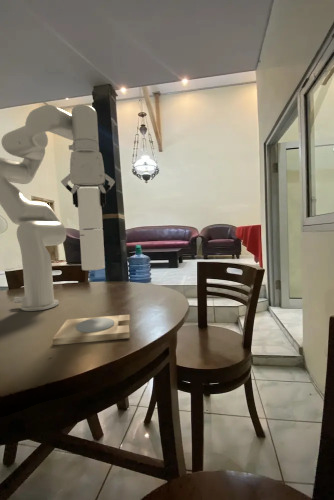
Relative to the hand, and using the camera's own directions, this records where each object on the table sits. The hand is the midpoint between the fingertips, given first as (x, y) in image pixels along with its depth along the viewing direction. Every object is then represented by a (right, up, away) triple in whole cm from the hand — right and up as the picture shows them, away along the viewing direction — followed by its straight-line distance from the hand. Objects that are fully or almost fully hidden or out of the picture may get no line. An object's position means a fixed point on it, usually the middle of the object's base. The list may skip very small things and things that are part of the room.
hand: (89, 206), depth 82 cm
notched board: (+5, -35, -12) cm, 38 cm away
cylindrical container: (+1, -20, +1) cm, 20 cm away
